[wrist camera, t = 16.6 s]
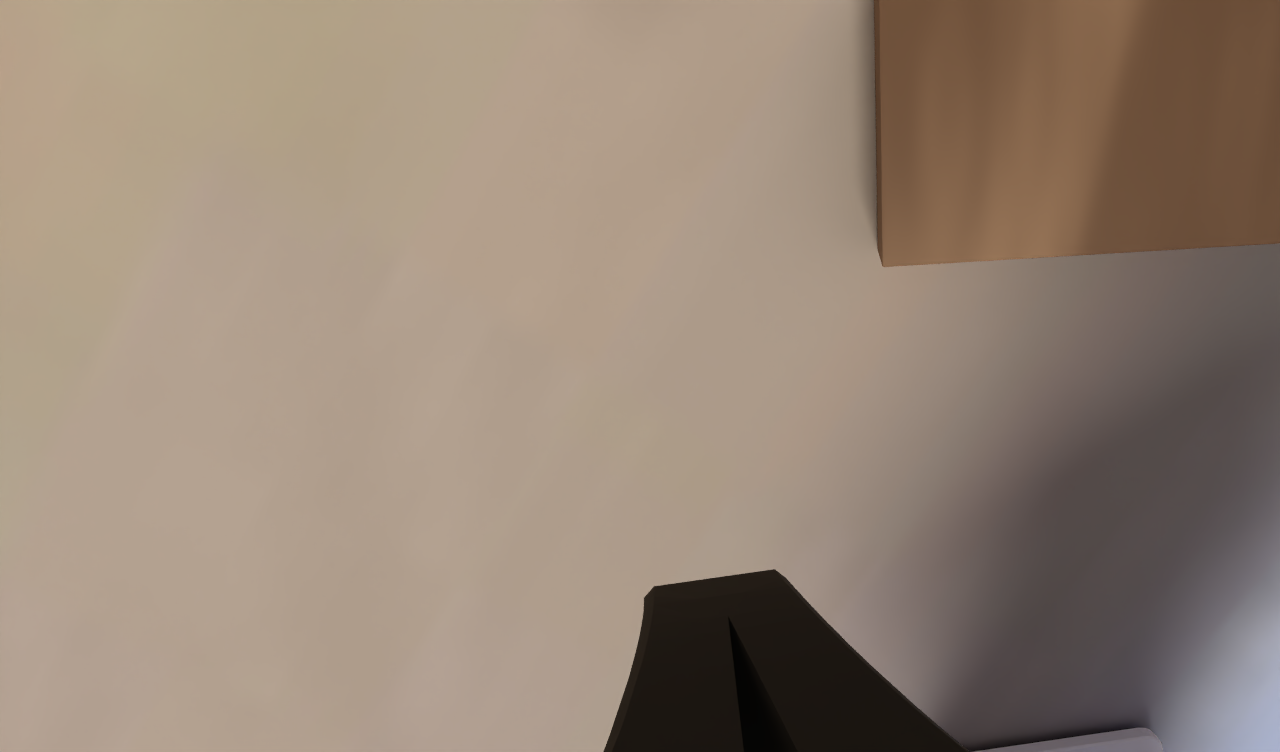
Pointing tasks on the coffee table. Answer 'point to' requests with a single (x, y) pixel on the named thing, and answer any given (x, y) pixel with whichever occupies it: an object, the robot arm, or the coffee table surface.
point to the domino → (1074, 127)
